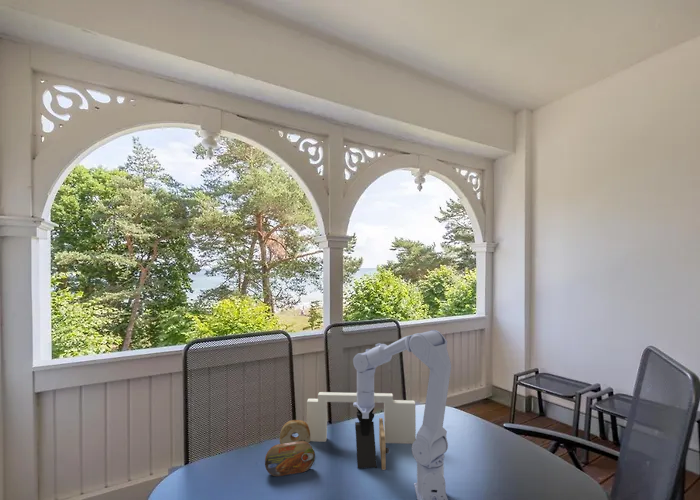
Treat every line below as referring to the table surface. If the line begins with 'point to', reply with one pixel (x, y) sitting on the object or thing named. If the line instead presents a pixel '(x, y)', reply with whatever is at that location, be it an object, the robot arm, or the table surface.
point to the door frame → (395, 411)
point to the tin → (289, 458)
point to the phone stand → (365, 447)
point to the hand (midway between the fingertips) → (365, 432)
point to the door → (382, 444)
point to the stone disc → (294, 427)
